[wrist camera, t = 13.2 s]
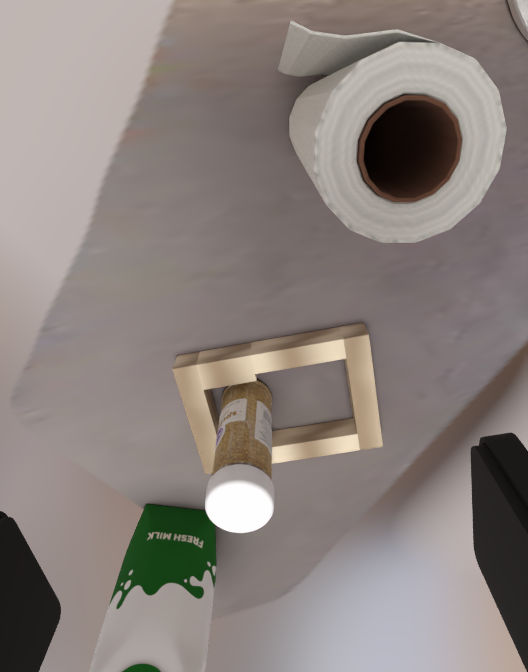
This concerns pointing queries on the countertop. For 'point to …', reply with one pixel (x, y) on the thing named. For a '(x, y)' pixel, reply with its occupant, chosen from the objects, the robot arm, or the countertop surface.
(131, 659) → the milk carton
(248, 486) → the sprinkles bottle
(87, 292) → the countertop surface
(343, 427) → the wooden frame
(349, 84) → the paper towel roll
